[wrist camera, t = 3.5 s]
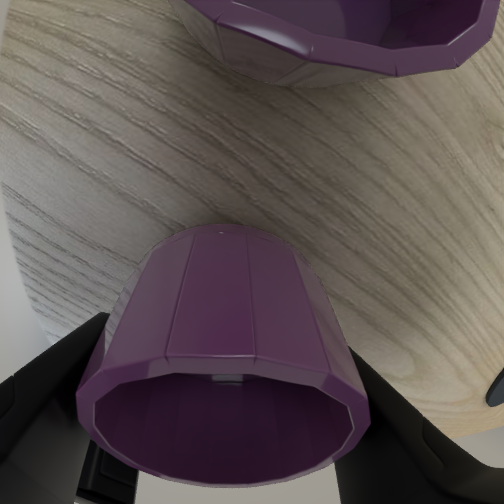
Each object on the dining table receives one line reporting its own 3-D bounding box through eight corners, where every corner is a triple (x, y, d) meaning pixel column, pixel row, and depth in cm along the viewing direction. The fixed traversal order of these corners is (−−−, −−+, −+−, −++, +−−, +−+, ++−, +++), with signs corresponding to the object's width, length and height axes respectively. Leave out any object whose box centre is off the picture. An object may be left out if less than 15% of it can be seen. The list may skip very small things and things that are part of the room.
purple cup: (228, 394, 11) (229, 497, 7) (97, 310, 9) (45, 422, 5) (356, 310, 9) (410, 425, 5) (221, 174, 7) (202, 274, 3)
